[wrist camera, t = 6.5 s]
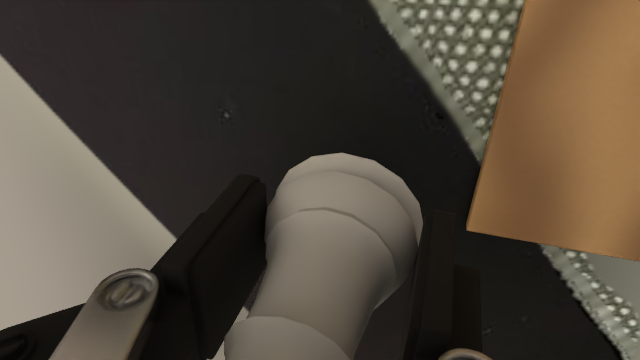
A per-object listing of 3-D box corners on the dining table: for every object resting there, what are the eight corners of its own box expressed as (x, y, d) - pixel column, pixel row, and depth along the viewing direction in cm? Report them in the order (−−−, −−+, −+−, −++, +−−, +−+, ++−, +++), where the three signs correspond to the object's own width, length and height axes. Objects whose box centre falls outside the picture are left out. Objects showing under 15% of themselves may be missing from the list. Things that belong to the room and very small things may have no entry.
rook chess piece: (459, 222, 12) (451, 570, 6) (353, 289, 15) (262, 589, 8) (344, 113, 12) (189, 369, 5) (253, 202, 14) (67, 453, 8)
